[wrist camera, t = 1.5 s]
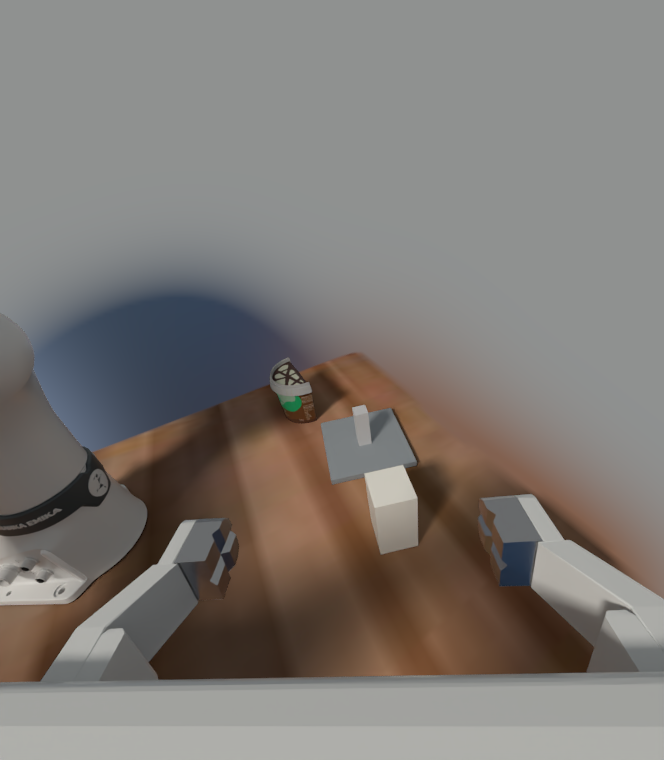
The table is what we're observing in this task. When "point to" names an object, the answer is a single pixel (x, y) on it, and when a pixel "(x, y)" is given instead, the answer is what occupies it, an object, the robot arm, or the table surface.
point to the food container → (292, 392)
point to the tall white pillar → (392, 508)
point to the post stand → (365, 444)
